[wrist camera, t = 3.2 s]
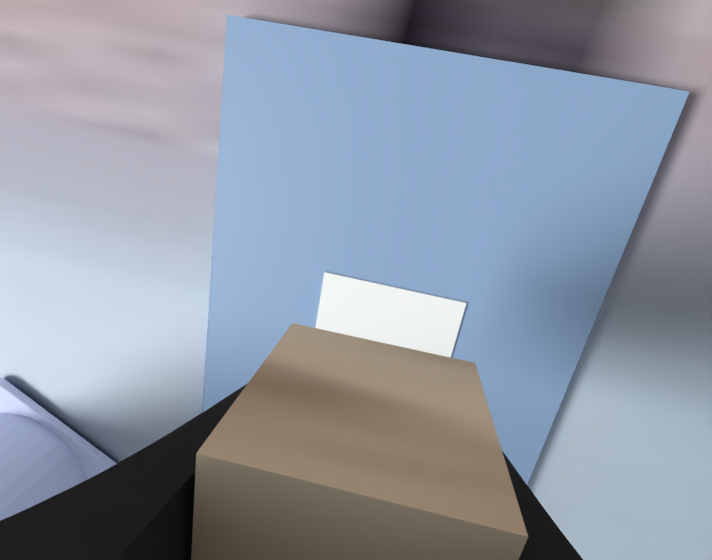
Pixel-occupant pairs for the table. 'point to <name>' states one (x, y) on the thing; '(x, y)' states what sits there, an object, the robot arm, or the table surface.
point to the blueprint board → (424, 208)
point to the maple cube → (355, 460)
